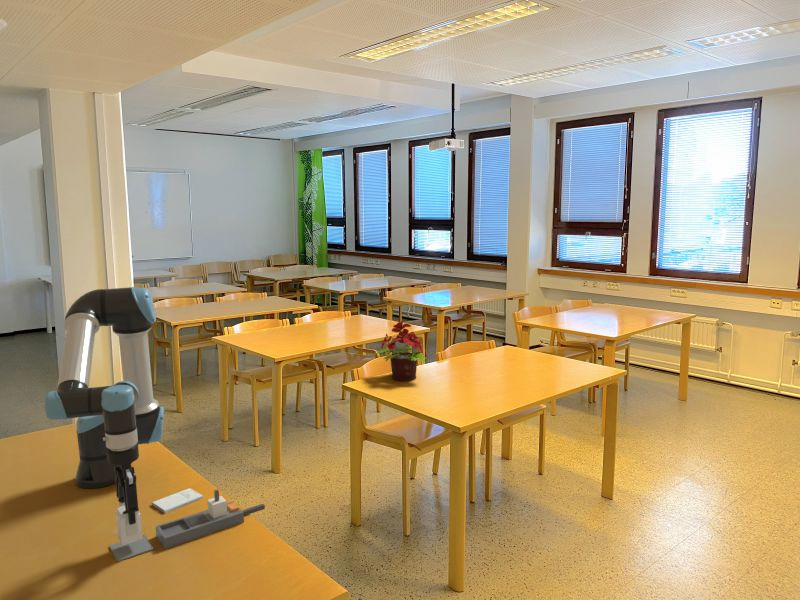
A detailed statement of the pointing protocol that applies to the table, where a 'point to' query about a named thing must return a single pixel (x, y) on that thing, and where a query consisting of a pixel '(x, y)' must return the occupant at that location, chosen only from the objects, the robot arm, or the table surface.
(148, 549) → the mat
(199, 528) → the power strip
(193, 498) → the external hard drive
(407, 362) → the potted plant
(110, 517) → the table surface
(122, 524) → the block
